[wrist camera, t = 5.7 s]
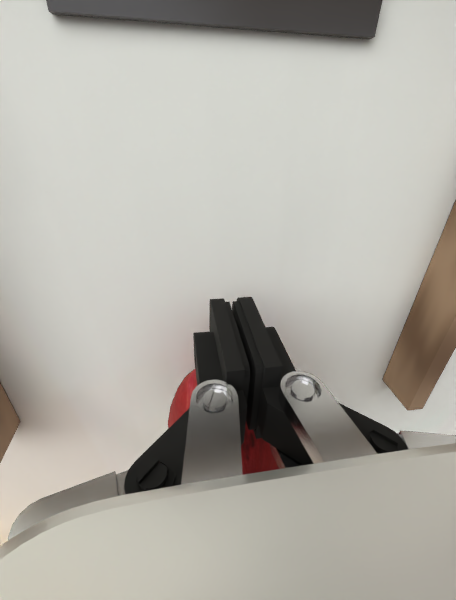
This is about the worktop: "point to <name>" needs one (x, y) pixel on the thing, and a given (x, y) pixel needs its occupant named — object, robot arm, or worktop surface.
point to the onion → (252, 449)
